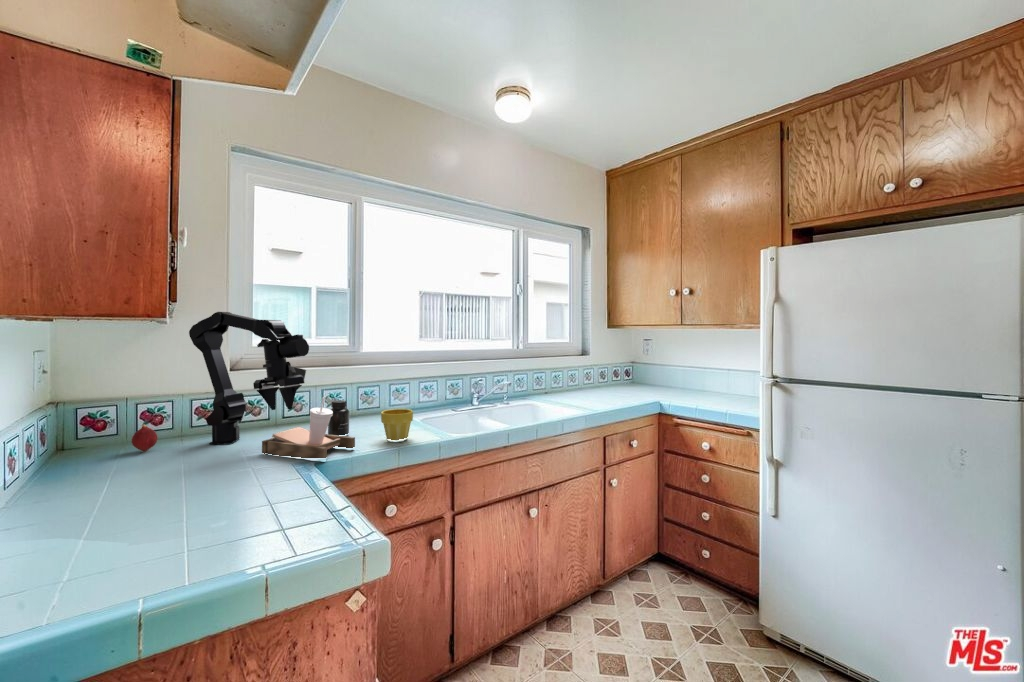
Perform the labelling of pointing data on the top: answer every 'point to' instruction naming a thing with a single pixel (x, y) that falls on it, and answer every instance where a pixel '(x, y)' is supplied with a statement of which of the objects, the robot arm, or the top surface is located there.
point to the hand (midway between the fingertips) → (281, 409)
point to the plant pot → (397, 423)
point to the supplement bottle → (339, 419)
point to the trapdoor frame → (303, 447)
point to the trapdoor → (303, 438)
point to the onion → (144, 438)
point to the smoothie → (319, 423)
